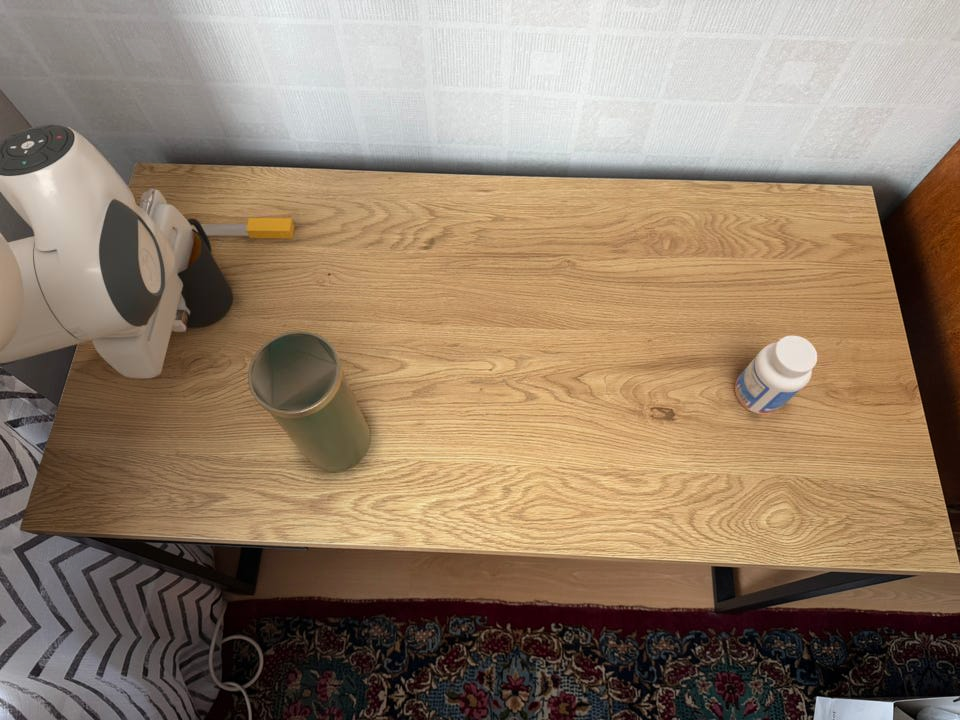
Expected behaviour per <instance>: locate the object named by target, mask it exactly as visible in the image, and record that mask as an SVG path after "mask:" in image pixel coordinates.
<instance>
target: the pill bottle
mask: <svg viewBox="0 0 960 720" xmlns="http://www.w3.org/2000/svg"><path fill="white" fill-rule="evenodd" d="M817 362H818V353H817V350H816V348H815V346H814V345H813V344H812V342H811V341H809V340H808V339H806V338H804V337H803V336H799V335H786V336H783V337H781V338H780V339H779V340H778V341H777V342H772V343H769V344H767V345H766V346H764V347H763V348H762V349H761V350H760V351H759V352H758V353H757V355H755V357H753V359H752V361H750V363H749V364H747V366H746V368H745V369H744V370H743V371H742V372H741V373H740V374H739V375H738V377H737V379H736V381H735V386H734V392H735V396H736V398H737V400H738V401H739V403H740V404H741V406H743V407H744V408H745V409H747V410H748V411H750V412H752V413H754V414H757V415H769V414H772V413H775V412H777V411H778V410H780V409H781V408H782V407H783V406H785V404H787V403H788V402H789V401H790V400H791V399H792V398H793V397H794V396H796V395H797V393H799V392H800V391H802V389H803V388H805V386H807V384H808V383H809V382H810V380H811V378H812V375H813V369H814V367H815V366H816V365H817Z"/></svg>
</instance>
